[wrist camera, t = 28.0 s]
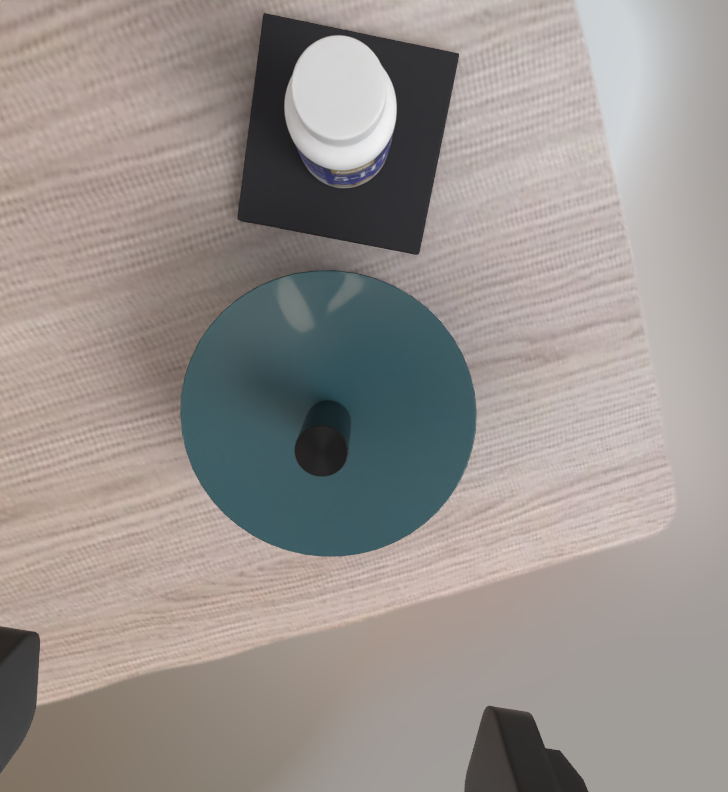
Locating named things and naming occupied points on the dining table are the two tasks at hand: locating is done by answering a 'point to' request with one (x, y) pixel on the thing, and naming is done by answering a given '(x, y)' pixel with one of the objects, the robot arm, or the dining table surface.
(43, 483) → the dining table surface
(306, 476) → the pot lid
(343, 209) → the plate
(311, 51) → the pill bottle
